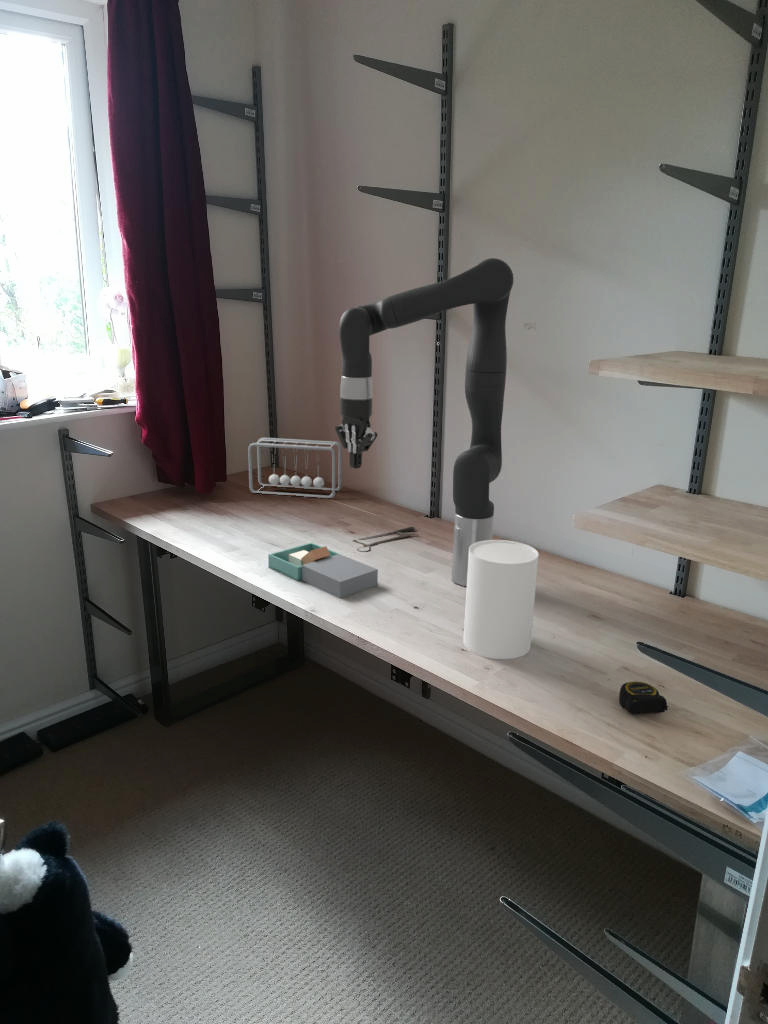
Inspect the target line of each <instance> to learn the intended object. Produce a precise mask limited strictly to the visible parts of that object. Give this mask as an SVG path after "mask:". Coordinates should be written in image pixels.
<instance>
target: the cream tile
mask: <svg viewBox="0 0 768 1024" xmlns="http://www.w3.org/2000/svg"><path fill="white" fill-rule="evenodd" d="M307 553H308V552H307V551H305V550H303V551H299V552H296V553H292V554H289V563H292V564H294V565H296V566H301V565H304V564H303V562H302V560H301V558H302V557H304V556H305V555H306V554H307Z"/></svg>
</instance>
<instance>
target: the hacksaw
mask: <svg viewBox="0 0 768 1024" xmlns="http://www.w3.org/2000/svg"><path fill="white" fill-rule="evenodd" d="M415 530H417V529H416V528H415V527H414V526H408V527H405V528H401V529H397V530H394V531H389V532H386V533H381V534H377V535H372V536H367V537H362V538H358V539H352V542H353V543H356V544H360V545H363V546H362V547H358V548H357V549H356V550H357V552H362V553H367V552H371V548H372V547H375V546H378V545H379V544H383V543H387V542H392V541H396V540H401V539H405V538H409V537H410V538H411V537H412V535H415V536H414V538H416V537H418V536H419V533H414V532H415ZM409 532H413V533H409ZM394 534H397V535H398V536H394V537H390V538H387V539H383V540H382V539H381V540H379V541H378V540H377V541H376V542H371V543H368V544H367V543H364V542H360V541H365V540H370V539H371V540H372V539H374V538H380V537H383V536H389V535H394ZM367 547H368V550H360V549H362V548H367Z"/></svg>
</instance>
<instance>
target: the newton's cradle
mask: <svg viewBox="0 0 768 1024" xmlns="http://www.w3.org/2000/svg"><path fill="white" fill-rule="evenodd" d="M264 442H273V443H264ZM277 442H278V443H277ZM281 443H283V444H281ZM287 443H294V444H287ZM299 444H305V445H299ZM311 444H312V445H311ZM313 445H315V446H313ZM320 445H330V446H320ZM334 446H336V447H338V449H337V451H338V453H337V454H338V455H336V451H335V449H334V448H333V447H334ZM254 447H256V448H257V449H256V450H257V452H256V453H257V454H256V455H257V456H256V457H257V481H258V484H259V485H260V486H261V485H262V486H263V487H262V486H261V487H260V488H259V489H258V490H255V489H254V487H253V486H254V485H253V459H252V458H253V456H252V455H253V454H252V451H253V448H254ZM261 447H262V448H263V447H264V448H271V450H273V448H274V453H276V451H277V450H276V449H279V448H280V449H282V452H284V449H293V450H292V451H293V452H295V450H304V452H306V450H309V451H310V450H312V451H313V450H315V451H329V452H331V459H332V460H331V462H332V463H331V468H332V469H331V472H332V474H331V488H330V487H324V485H325V481H324V479H323V478H322V477H320V473H319V466H316V470H317V471H316V472H317V477H315V478H314V479H313V480H312V478H311V477H310V476H308V475H305V476H303V477H302V478H301V477H300V476H298V475H297V473H294V475H293V476H291V478H290V475H289V476H288V475H287V474H286V471H287V470H286V467H287V459H285V460H284V457H282V462H283V465H284V470H283V471H284V472H283V475H281V476H280V477H279V475H278V474H275V473H276V472H275V470H276V465H273V467H272V472H273V473H272V474H271V475H270V476H268V482H269V484H268V483H263V482H262V456H261V455H262V454H261ZM342 447H343V446H342V444H340V443H339V442H338V441H333V440H331V441H330V440H312V439H299V438H298V439H296V438H279V437H278V438H277V437H261V438H259V439H258V440H257V442H252V443H250V444H249V446H248V448H247V451H248V453H247V455H248V459H247V460H248V483H249V484H248V485H249V491H250V492H251V493H252V494H254V493H262V494H277V495H296V496H304V497H303V498H306V497H318V498H317V499H320V498H332V499H333V498H334V497H336V492H335V491H337V492H339V491H340V490H341V489H342V473H343V472H342V466H343V465H342V464H343V463H342V461H343V460H342V455H343V454H342V451H343V450H342V449H343V448H342ZM306 455H307V459H304V463H305V465H304V466H305V468H307V467H308V463H309V462H308V458H309V456H308V455H309V454H306ZM315 455H316V456H315V457H316V461H318V457H317V456H318V455H317V454H315ZM337 456H338V460H337V462H338V463H337V462H336V458H337ZM271 457H272V458H271V460H272V462H274V457H273V455H271ZM295 457H296V463H295V458H293V459H294V460H293V464H294V467H295V469H297V466H298V465H297V464H298V460H297V459H298V456H295ZM284 461H285V462H284ZM336 463H337V464H338V465H337V467H338V469H337V470H338V471H337V472H336V468H337V467H336ZM336 474H337V475H336ZM336 476H337V477H338V478H336ZM336 479H338V480H337V481H336ZM336 482H337V483H338V485H337V487H336ZM279 483H280V484H279ZM290 484H291V485H290ZM312 484H313V486H312ZM300 485H302V486H300ZM264 486H277V487H295V488H304V489H322V490H332V492H331V493H330V494H329V495H323V494H309V493H291V492H281V491H280V492H279V491H264V490H262V489H264V488H265V487H264ZM261 488H262V489H261ZM260 489H261V490H260ZM259 490H260V491H259ZM262 494H261V495H262ZM277 495H276V496H277Z"/></svg>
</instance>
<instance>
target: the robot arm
mask: <svg viewBox="0 0 768 1024" xmlns="http://www.w3.org/2000/svg"><path fill="white" fill-rule="evenodd" d="M513 285H514V273H513V271H512V269H511V266H510V265H508V263H507V262H506V261H504V260H502V259H500V258H487V259H484V260H482V261H480V262H479V263H478V264H477V265H475V266H473V267H472V268H469V269H467V270H466V271H463V272H462V273H459V274H457V275H455V276H453V277H450V278H448V279H444V280H441V281H437V282H435V283H431V284H428V285H423V286H420V287H416V288H412V289H409V290H405V291H402V292H399V293H396V294H392V295H389V296H387V297H385V298H383V299H381V300H379V301H375V302H373V303H368V304H365V305H361V306H357V307H351V308H349V309H347V310H345V311H344V312H343V313H342V315H341V317H340V320H339V327H338V328H339V340H340V350H341V377H340V378H341V379H340V388H339V389H340V391H339V392H340V394H339V396H340V397H339V398H340V401H339V402H340V404H339V405H340V408H339V411H340V416H341V417H342V418H341V424H340V425H337V426H335V427H334V428H335V432H336V434H337V437H338V438H339V441H340V443H341V446H342V447H343V449H347V452H348V453H349V467H350V468H352V469H356V470H357V469H361V467H362V461H363V460H362V459H363V452H369V449H371V447H372V445H373V444H374V442H375V441H376V439H377V438H378V432H376V431H374V432H373V430H372V429H371V422H370V421H371V420H370V417H371V416H372V415H373V380H372V377H373V374H372V373H373V370H372V368H373V360H372V354H371V352H370V336H373V335H376V334H378V333H381V332H383V331H386V330H389V329H397V328H400V327H403V326H406V325H409V324H410V325H411V324H413V323H417V322H419V321H422V320H424V319H427V318H429V317H432V316H434V315H435V316H436V315H438V314H440V313H443V312H446V311H448V310H452V309H455V308H459V307H462V306H467V305H472V307H473V308H472V309H473V312H472V313H473V323H472V329H471V334H470V339H469V343H468V349H467V356H466V362H465V374H464V376H465V379H464V394H465V395H464V396H465V400H466V403H467V408H468V410H469V414H470V417H471V438H470V446H469V449H468V450H464V451H462V452H461V453H460V454H458V456H456V459H455V461H454V465H453V472H452V501H453V505H454V509H455V511H454V526H453V527H454V528H453V546H452V564H451V567H452V568H451V581H452V582H453V583H455V584H457V585H459V586H462V587H467V573H468V556H469V547H470V546H471V545H472V544H474V543H476V542H480V541H485V540H493V530H494V529H493V528H494V527H493V526H494V515H495V504H494V502H493V501H491V500H490V483H492V482H494V481H495V480H496V479H497V478H498V477H499V475H500V474H501V470H502V466H503V463H502V462H503V456H502V455H503V452H502V451H503V449H502V423H503V422H502V421H503V412H504V400H505V390H506V382H507V381H506V380H507V379H506V378H507V368H508V367H507V363H508V362H507V359H508V358H507V353H508V352H507V351H508V350H507V336H506V320H507V313H508V312H507V311H508V308H509V307H508V306H509V300H510V295H511V291H512V289H513Z"/></svg>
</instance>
